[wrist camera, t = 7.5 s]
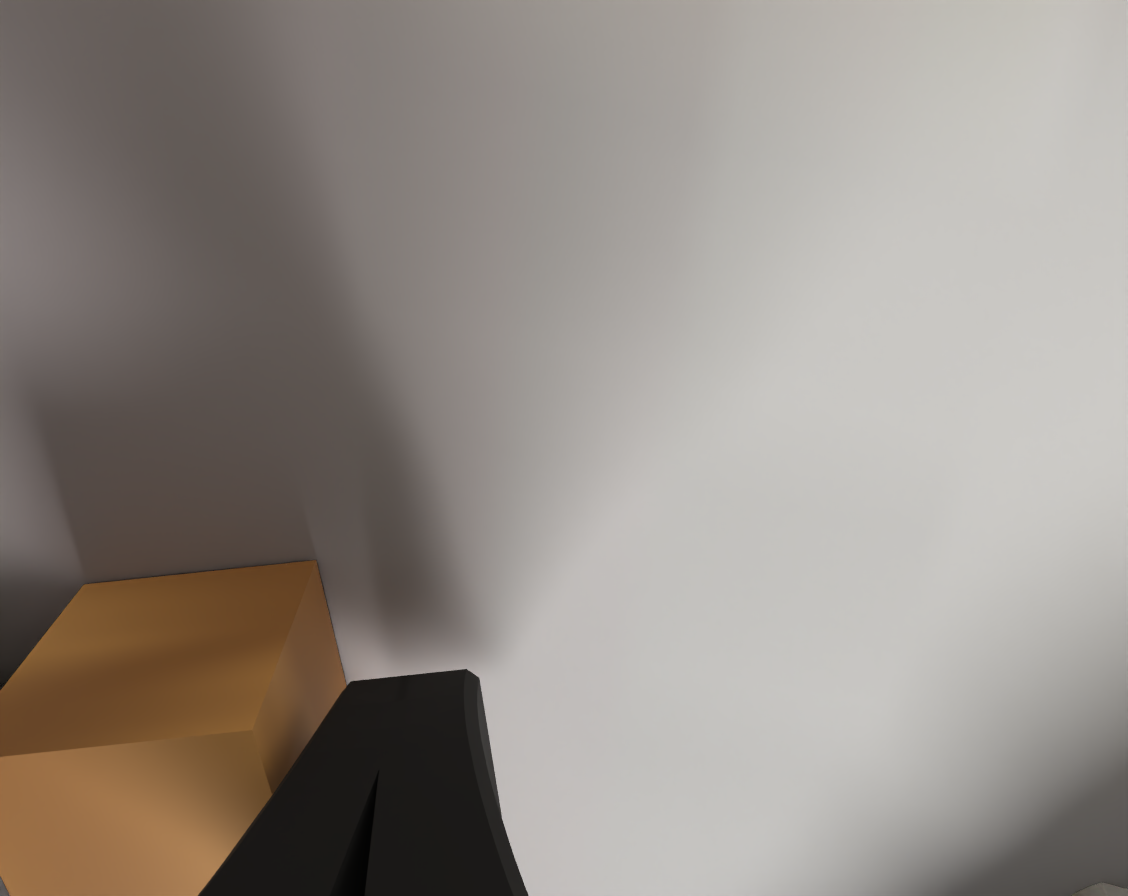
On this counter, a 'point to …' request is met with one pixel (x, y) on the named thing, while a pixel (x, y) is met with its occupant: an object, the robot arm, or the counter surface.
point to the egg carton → (1102, 890)
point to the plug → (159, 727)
